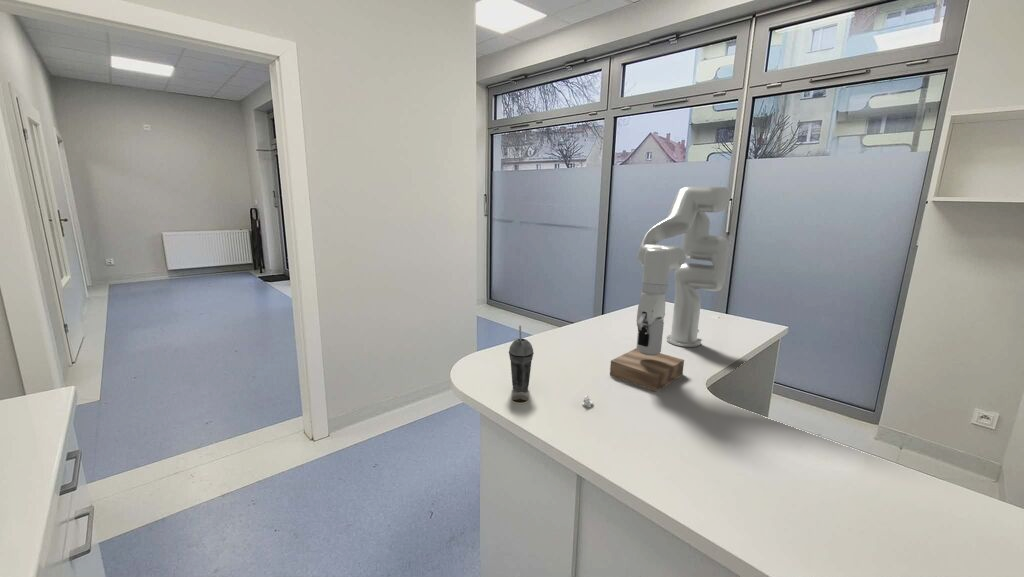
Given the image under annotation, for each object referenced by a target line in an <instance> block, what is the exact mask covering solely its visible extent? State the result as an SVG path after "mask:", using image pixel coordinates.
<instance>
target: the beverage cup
mask: <svg viewBox="0 0 1024 577" xmlns="http://www.w3.org/2000/svg"><path fill="white" fill-rule="evenodd" d="M518 328H519V329H518V331H519V338H517V339H515V340H513V341H512V342H511V343H510V345H509V349H508V350H509V351H508V354H509V355H508V356H509V359H510V368H511V369H510V371H511V384H512V385H511V386H512V390H513V392H516V393H519V392H521V393H522V392H523V393H526V392H527V391H528V390H529V386H530V378H531V369H532V360H533V358H534V348H533V345H532V344H531V342H530V341H529V340H528V339H526V338H522V325H518Z"/></svg>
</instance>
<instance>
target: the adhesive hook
mask: <svg viewBox="0 0 1024 577" xmlns="http://www.w3.org/2000/svg"><path fill="white" fill-rule="evenodd" d="M591 400H592V399H591V396H590V395H589V394H587V395H585V397H584V398H583V402H582V404H581V406H583V407H584V406H587V407H588V408H591V407H592V406H593V407H594V406H595V404H594V403H593V402H592V401H591Z"/></svg>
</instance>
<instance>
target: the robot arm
mask: <svg viewBox="0 0 1024 577" xmlns="http://www.w3.org/2000/svg"><path fill="white" fill-rule="evenodd" d="M730 201H731V192H730V190H729V189H728V187H725V186H685V187H682V188H680V189H679V190H678V191H677V192H676V194H675V197H674V199H673V201H672V203H671V207H670V208H669V211H668V213H667V216H666V217H665V219H662V220H661V221H659V222H658V223H657V224H655V225H653V227H651V228H650V229H649V230H648V231H647V232H646V233H645V235H644V236H643V239H642V240H641V242H640V246H639V248H638V251H637V262H638V264H640V265H641V266H642V269H643V271H642V277H641V278H642V279H641V290H640V291H641V293H640V297H639V299H638V300H639V301H638V306H637V311H636V326H637V334H638V333H639V337H638V344H639V345H642V346H645V347H647V346H648V343H649V334H648V332H649V329H650V326H652V325H653V324H654V322H655V319H660V318H661V317H662V321H663V322H664V320H665V316H666V295H667V294H668V285H669V277H670V275H669V274H670V271H674V282H675V283H674V285H675V286H674V287H675V289H674V290H675V292H674V301H673V302H674V303H673V314H672V324H671V331H670V332H671V333H670V334H668V335H667V336H666V341H667V342H668V343H670V344H672V345H674V346H678V347H685V348H697V347H699V346H700V345H701V344H702V343H701V342H702V341H701V340H700V339H699V338H698V333H700V330H699V322H700V314H701V306H702V299H701V295H700V294H699V292H698V291H697V290H703V291H710V292H718V291H721V290H722V289H723V287H724V285H725V282H726V274H727V266H728V259H729V252H730V243H729V241H728V239H727V238H726V237H724V236H720V235H710V225H711V222H710V218H709V216H708V215H707V214H706V213H721V212H724V211H725V210H726V209H727V208H728V207H729V205H730ZM681 235H683V240H682V248H681V247H679V246H676V245H665V244H658V243H659V242H661V241H664V240H667V239H669V238H674V237H677V236H681ZM686 259H689V260H695V261H702V262H703V261H705V262H711V263H712V264H704V263H696V262H685V261H686ZM644 321H646V322H648V324H645V323H644ZM643 326H647V328H646V329H645V327H643Z"/></svg>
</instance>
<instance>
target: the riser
mask: <svg viewBox="0 0 1024 577" xmlns="http://www.w3.org/2000/svg"><path fill="white" fill-rule="evenodd" d="M684 364H685V359H683V358H679V357H675V356H672V355H668V354H664V353H662V352H660V353H659V354H657V355H654V356H649V355H644V354H641V353H640V352H639V351H638V350H637V349H636V348H634V349H632V350H630V351H628V352H625V353H624V354H622V355H619V356H617V357H616V358H613V359H611V360H610V368H609V376H611V377H613V378H617V379H620V380H622V381H625V382H628V383H631V384H633V385H636V386H639V387H641V388H645V389H647V390H650V391H653V392H659V391H660V390H662V389H663V388H665V387H667V385H669V384H671V383H672V382H673V381H675V380H676V379H678V378H680V377H681V376H682V375H683V372H684V367H685V366H684Z"/></svg>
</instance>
